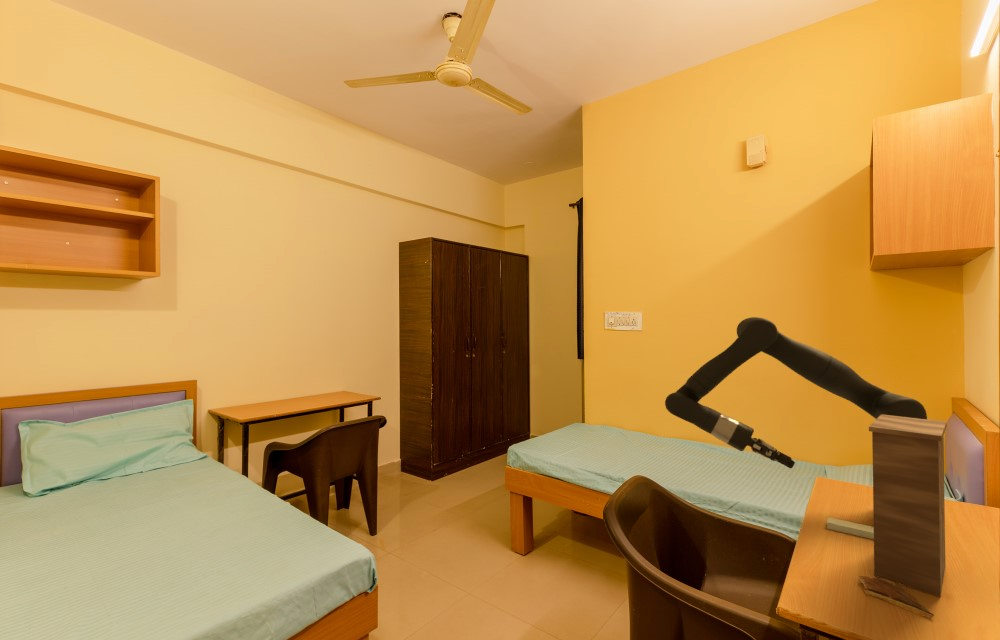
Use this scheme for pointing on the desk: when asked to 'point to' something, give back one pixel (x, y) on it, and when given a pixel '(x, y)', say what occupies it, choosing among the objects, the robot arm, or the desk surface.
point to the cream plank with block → (850, 528)
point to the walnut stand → (909, 501)
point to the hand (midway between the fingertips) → (791, 463)
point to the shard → (893, 594)
